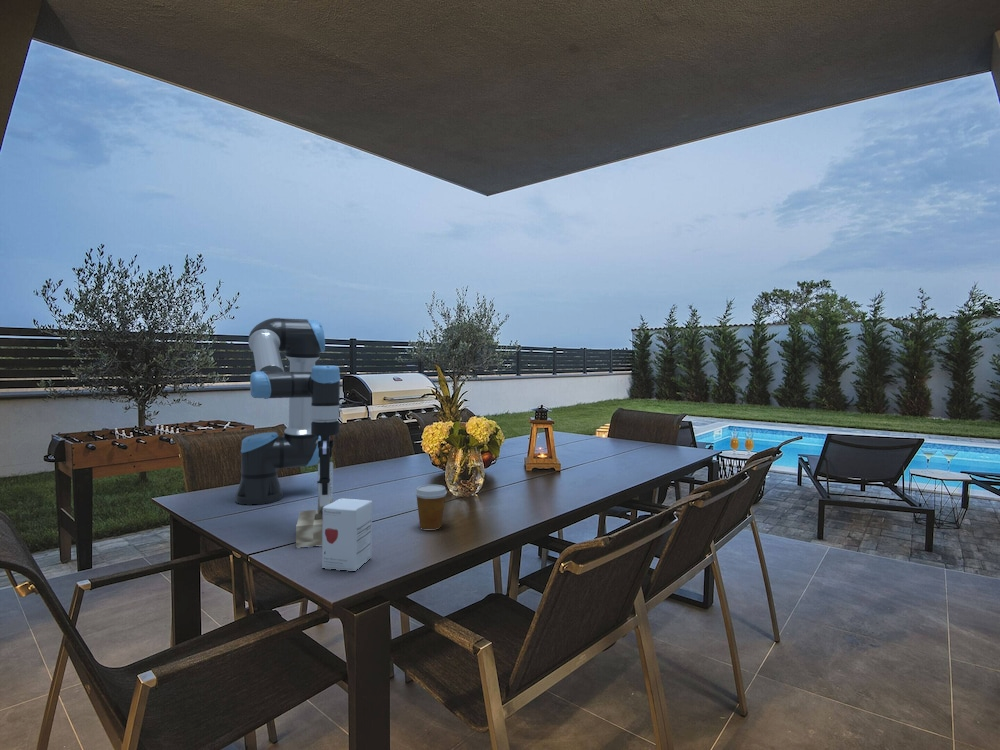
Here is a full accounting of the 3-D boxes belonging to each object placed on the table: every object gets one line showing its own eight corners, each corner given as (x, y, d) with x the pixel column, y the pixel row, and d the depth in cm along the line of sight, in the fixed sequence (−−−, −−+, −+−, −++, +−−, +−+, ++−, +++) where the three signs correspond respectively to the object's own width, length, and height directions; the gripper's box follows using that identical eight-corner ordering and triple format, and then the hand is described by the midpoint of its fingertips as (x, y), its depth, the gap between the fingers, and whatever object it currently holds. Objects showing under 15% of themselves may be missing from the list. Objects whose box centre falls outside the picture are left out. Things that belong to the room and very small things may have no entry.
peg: (317, 515, 140) (317, 464, 140) (318, 511, 144) (318, 462, 144) (332, 514, 141) (332, 464, 141) (333, 510, 145) (333, 461, 145)
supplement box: (320, 569, 121) (320, 507, 121) (339, 555, 130) (340, 497, 129) (355, 573, 119) (355, 509, 119) (372, 558, 128) (373, 499, 128)
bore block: (295, 548, 134) (296, 526, 134) (300, 531, 148) (300, 511, 147) (351, 543, 138) (351, 521, 138) (350, 527, 152) (350, 507, 151)
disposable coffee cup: (432, 535, 146) (433, 493, 146) (408, 529, 151) (408, 488, 151) (453, 526, 154) (453, 487, 154) (428, 520, 159) (429, 482, 159)
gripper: (339, 423, 135) (338, 511, 136) (340, 417, 151) (339, 495, 152) (309, 424, 133) (308, 513, 133) (313, 417, 149) (313, 496, 150)
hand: (325, 503), depth 143 cm, fingers closed on peg, 4 cm apart
